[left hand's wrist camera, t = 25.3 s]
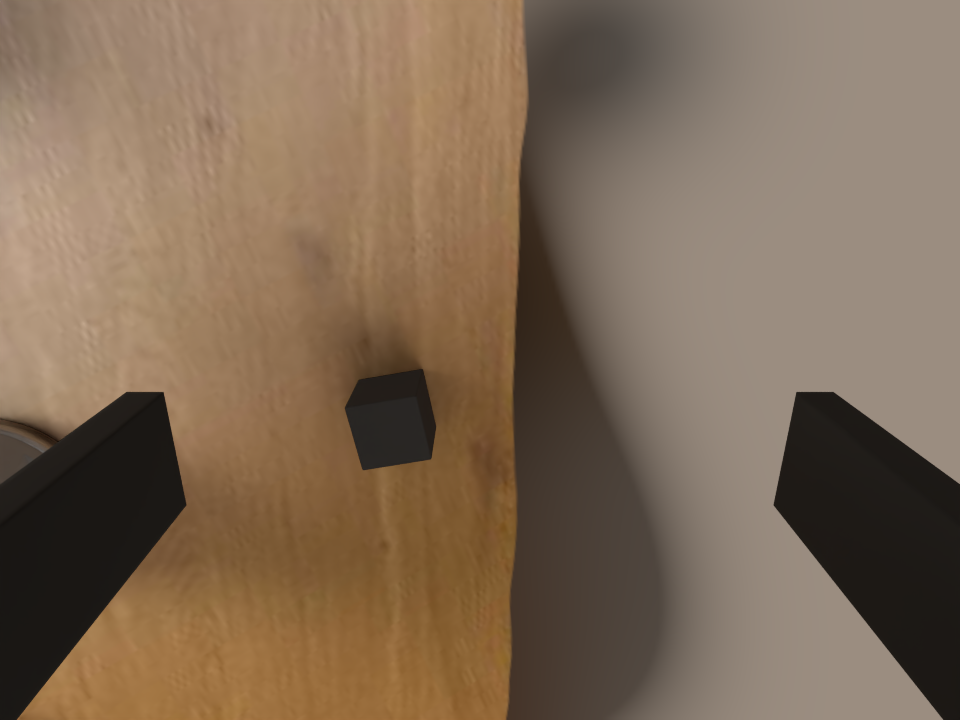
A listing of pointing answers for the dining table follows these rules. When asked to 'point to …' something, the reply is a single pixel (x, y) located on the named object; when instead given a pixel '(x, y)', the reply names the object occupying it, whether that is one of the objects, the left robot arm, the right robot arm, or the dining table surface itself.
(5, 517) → the left robot arm
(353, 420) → the rubber block
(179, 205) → the dining table surface
